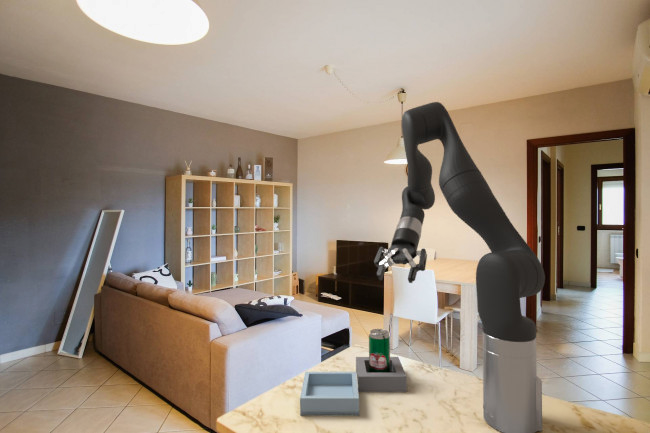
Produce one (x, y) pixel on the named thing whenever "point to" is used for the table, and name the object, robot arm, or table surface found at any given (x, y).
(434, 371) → the table surface
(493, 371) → the robot arm
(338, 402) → the parts tray
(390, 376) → the socket block
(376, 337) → the soda can
